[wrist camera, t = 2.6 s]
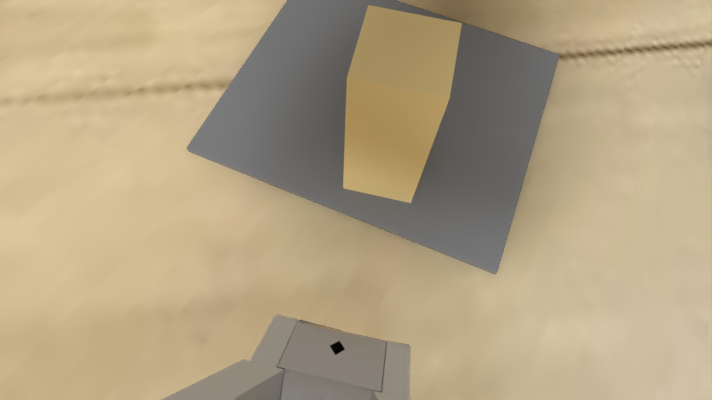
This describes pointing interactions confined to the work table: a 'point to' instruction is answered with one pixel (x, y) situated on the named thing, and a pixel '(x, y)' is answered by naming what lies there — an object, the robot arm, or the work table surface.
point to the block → (396, 99)
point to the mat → (327, 127)
